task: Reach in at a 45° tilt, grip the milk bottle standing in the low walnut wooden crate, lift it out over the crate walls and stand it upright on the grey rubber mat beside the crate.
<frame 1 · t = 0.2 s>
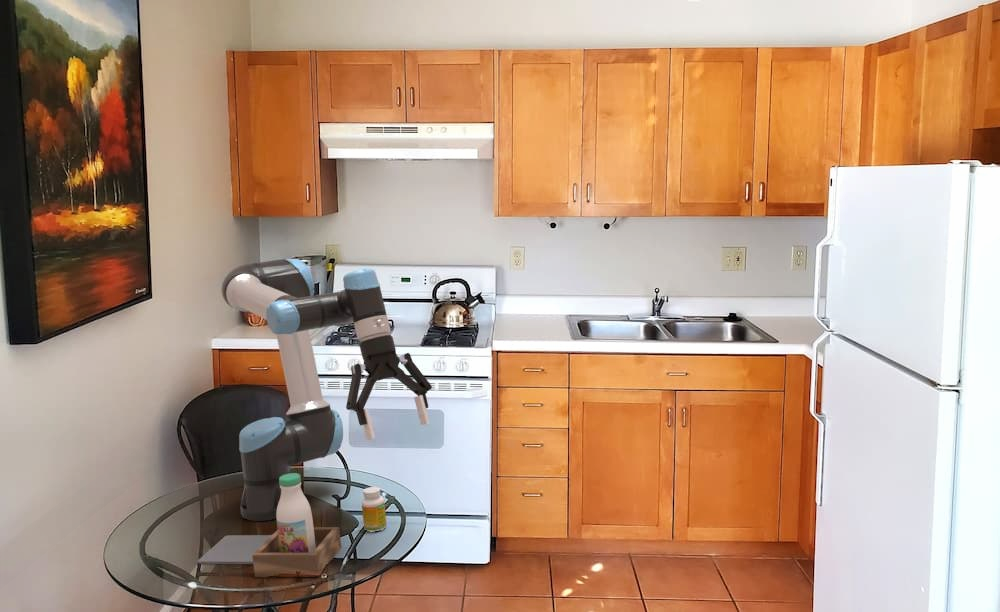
hand: (398, 431, 185), 28 cm above the table, tool tilted 20°, fingers open, 13 cm apart
walnut crate: (299, 562, 188), on the table
supplement bottle: (375, 529, 204), on the table
rubber mat: (240, 550, 197), on the table
milk bottle: (299, 562, 188), resting in walnut crate
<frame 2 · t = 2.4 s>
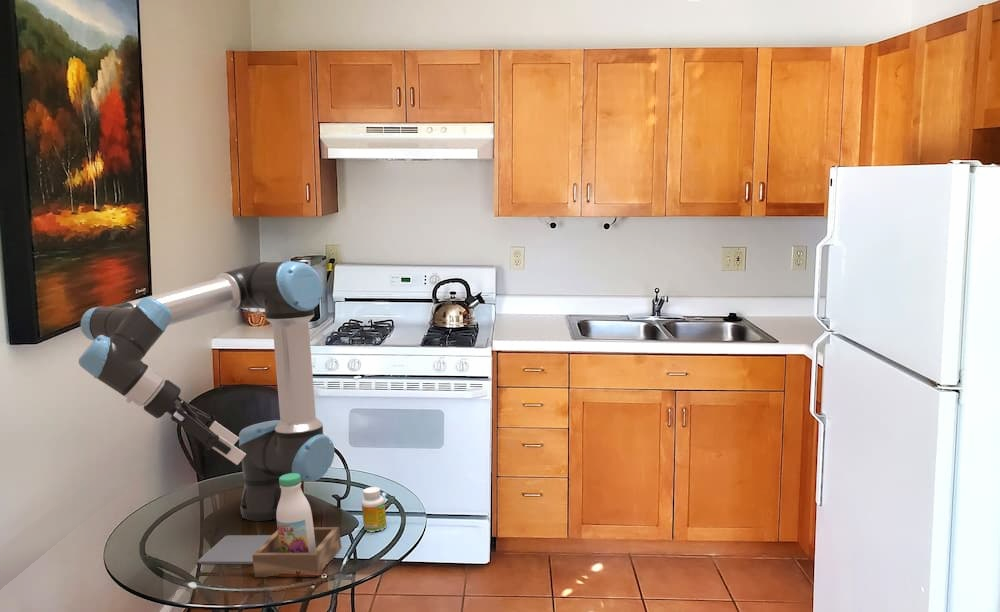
hand: (238, 451, 180), 28 cm above the table, tool tilted 45°, fingers open, 13 cm apart
nothing on the table moved.
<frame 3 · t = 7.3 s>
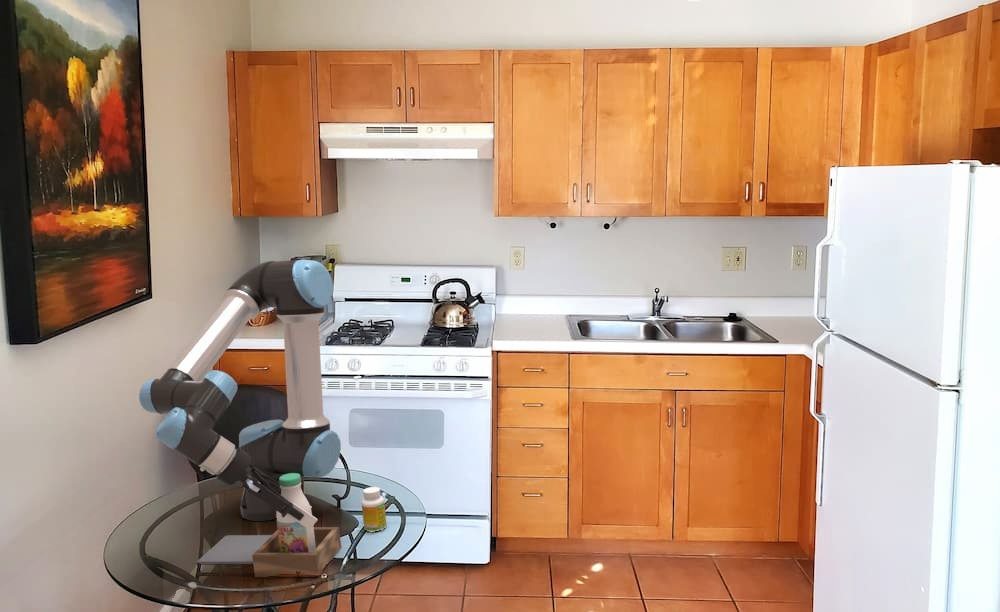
hand: (310, 517, 188), 10 cm above the table, tool tilted 45°, fingers closed on milk bottle, 7 cm apart
milk bottle: (299, 562, 188), resting in walnut crate, touching gripper
everything else where it was.
when the fingers open (11 cm above the table, at t = 14.6 s): milk bottle stays where it is, resting on rubber mat.
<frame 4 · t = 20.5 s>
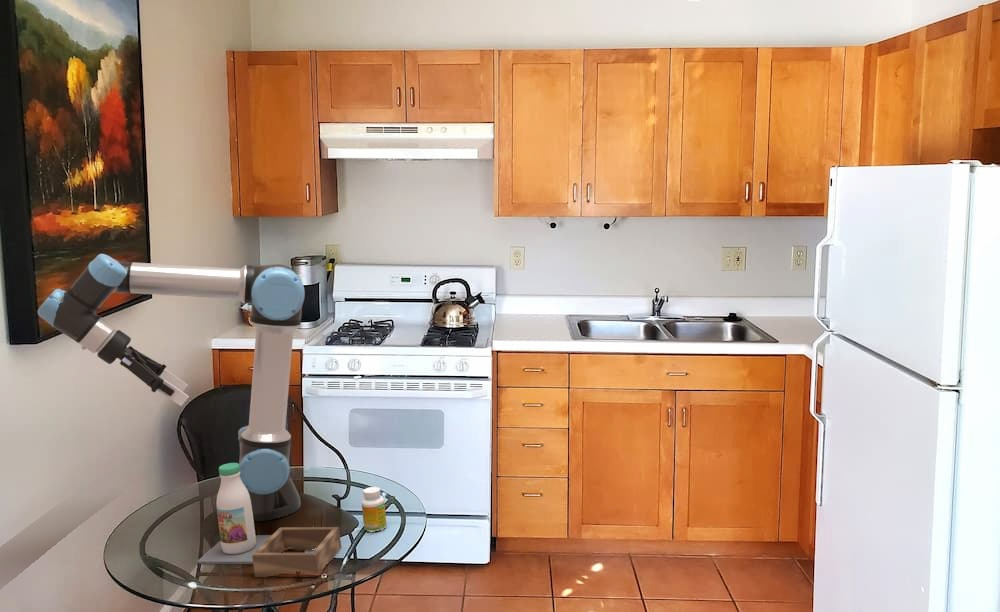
hand: (184, 395, 201), 36 cm above the table, tool tilted 45°, fingers open, 13 cm apart
milk bottle: (239, 548, 197), resting on rubber mat
everything else where it was.
at the end: milk bottle inside the target area on the rubber mat (0.1 cm from its centre), point 0.4 cm above the rubber mat's base; milk bottle tilted 0°; the gripper is holding nothing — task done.
